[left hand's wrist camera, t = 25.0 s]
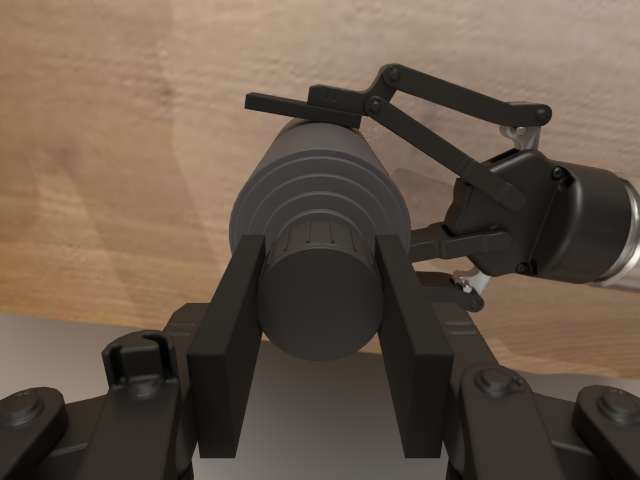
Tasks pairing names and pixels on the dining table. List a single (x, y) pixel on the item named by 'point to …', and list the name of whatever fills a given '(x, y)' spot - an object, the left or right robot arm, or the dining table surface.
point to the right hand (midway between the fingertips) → (242, 169)
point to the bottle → (319, 187)
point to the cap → (320, 292)
